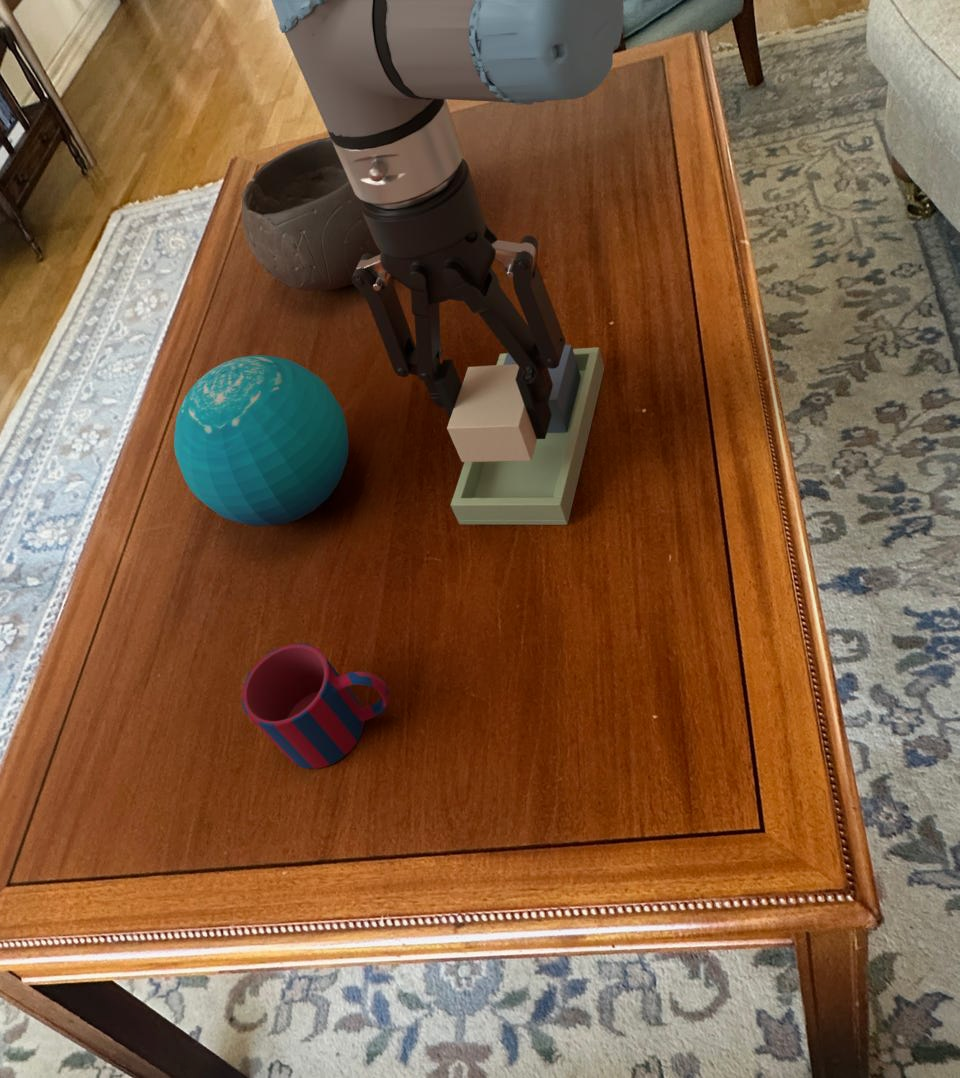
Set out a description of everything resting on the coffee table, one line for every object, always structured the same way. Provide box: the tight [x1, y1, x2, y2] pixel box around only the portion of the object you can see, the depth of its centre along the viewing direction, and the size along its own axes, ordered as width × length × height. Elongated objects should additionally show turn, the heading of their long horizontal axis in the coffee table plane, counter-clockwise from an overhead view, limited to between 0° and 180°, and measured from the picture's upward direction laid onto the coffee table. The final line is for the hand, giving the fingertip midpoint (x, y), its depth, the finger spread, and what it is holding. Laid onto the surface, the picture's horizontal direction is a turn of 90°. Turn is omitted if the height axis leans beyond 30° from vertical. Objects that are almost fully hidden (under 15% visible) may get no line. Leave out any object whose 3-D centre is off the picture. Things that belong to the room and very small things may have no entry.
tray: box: [450, 346, 605, 526], centre depth 86 cm, size 19×10×3 cm, turn 166°
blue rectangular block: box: [503, 344, 581, 433], centre depth 87 cm, size 7×6×4 cm
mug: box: [241, 642, 391, 770], centre depth 71 cm, size 7×10×7 cm
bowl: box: [241, 136, 381, 292], centre depth 110 cm, size 18×18×13 cm
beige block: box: [446, 364, 537, 463], centre depth 79 cm, size 7×6×4 cm
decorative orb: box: [173, 354, 349, 527], centre depth 86 cm, size 15×15×15 cm
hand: (504, 427), depth 80 cm, fingers closed on beige block, 6 cm apart
